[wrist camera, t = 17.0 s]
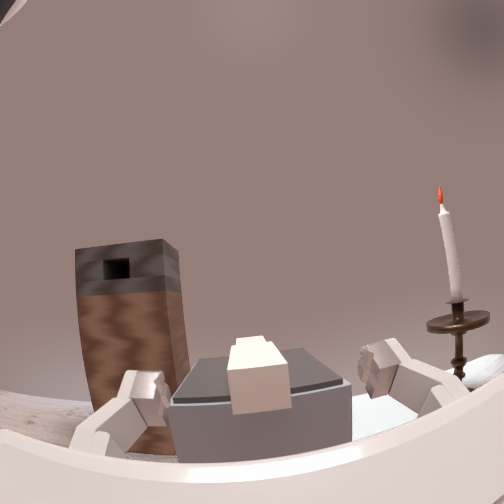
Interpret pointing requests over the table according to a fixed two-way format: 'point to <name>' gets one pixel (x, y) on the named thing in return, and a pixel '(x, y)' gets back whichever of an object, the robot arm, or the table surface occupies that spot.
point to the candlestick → (455, 300)
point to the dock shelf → (259, 414)
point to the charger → (257, 377)
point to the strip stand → (131, 323)
